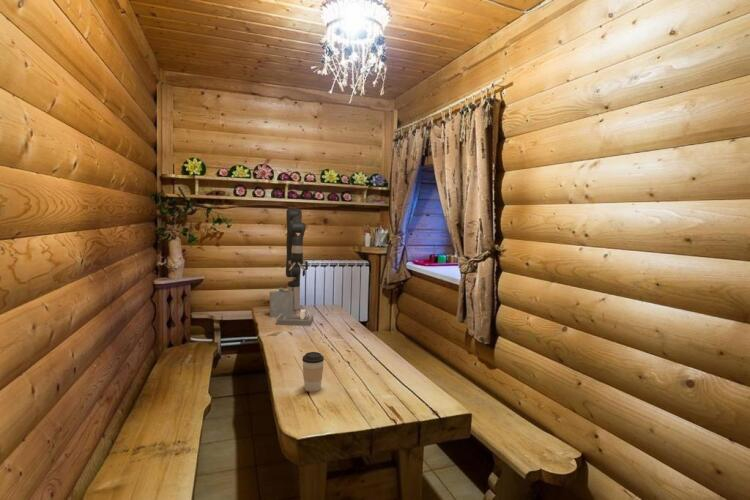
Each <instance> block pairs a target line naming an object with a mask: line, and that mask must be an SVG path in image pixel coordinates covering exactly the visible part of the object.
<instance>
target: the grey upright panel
mask: <svg viewBox="0 0 750 500" xmlns="http://www.w3.org/2000/svg"><path fill="white" fill-rule="evenodd" d="M281 313H283V316H294V310H293V291H288V290H285V288H284V287H278V290H277V291H269V318H277V317H278V316H279V315H280V314H281Z"/></svg>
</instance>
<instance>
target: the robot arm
mask: <svg viewBox="0 0 750 500" xmlns="http://www.w3.org/2000/svg"><path fill="white" fill-rule="evenodd" d="M302 213H303V211H302V210H301V209H300V208H289V207H288V208H287V209H286V247H285V249H286V260H285V261H286V263H285V276H286V278H294V279H292V280H291V281H288V282H287V291H293V311H294V310H295V311H296V310H301V309H300V308H301V307H300V306H301V305H300V303H301V274H302V277H304V276H305V275H306V271H308V269H309V263H308V260H305V261H304V257H303V256H304V236H305V233H306V228H307V226H306V224H305V223H304V222H302V220H303V214H302ZM298 234H299V235H298ZM303 264H304V265H305V267H304V265H303ZM301 270H302V271H301ZM301 272H302V273H301Z"/></svg>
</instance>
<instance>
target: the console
mask: <svg viewBox="0 0 750 500" xmlns="http://www.w3.org/2000/svg"><path fill="white" fill-rule="evenodd" d="M313 322H314V313H313V314H310V315H309V316H306V315H305V318H304V319H300V315H293V316H283V313H281V314H280V315H279V316H278V317H276V325H277V326H300V327H301V326H304V327H305V326H306V327H307V326H309V327H310V326H312V324H313Z"/></svg>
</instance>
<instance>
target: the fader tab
mask: <svg viewBox="0 0 750 500" xmlns="http://www.w3.org/2000/svg"><path fill="white" fill-rule="evenodd" d="M299 316H300V319H304V318H305V316H306V309H300V315H299Z"/></svg>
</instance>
